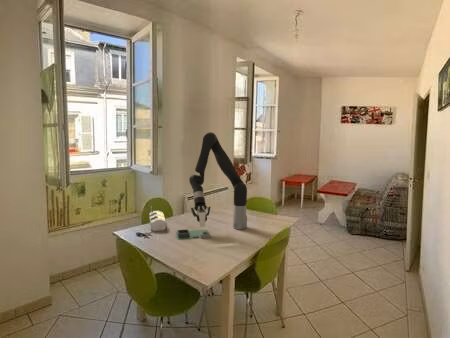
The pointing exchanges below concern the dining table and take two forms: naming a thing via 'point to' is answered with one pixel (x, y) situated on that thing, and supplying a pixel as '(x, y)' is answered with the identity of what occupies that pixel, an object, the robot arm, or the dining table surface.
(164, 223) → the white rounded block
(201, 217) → the plug
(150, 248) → the dining table surface
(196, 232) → the board
